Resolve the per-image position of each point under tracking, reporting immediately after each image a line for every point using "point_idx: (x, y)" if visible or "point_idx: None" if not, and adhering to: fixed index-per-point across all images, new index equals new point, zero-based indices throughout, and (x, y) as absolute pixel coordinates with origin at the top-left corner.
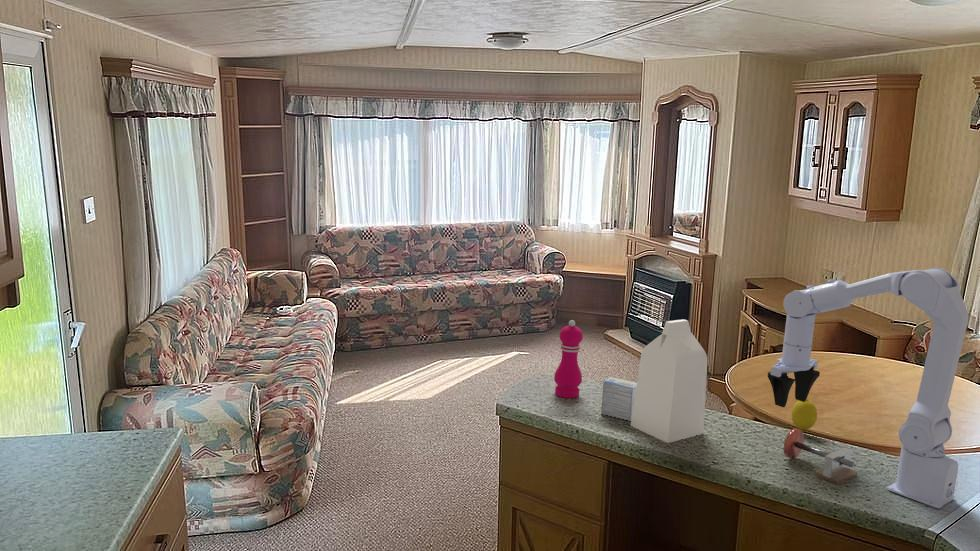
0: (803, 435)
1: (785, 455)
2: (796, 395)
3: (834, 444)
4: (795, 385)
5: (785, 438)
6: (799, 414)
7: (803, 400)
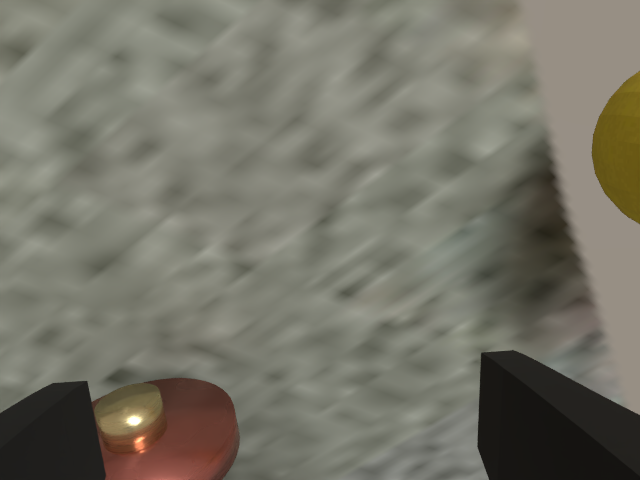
0: (217, 478)
1: (97, 400)
2: (503, 385)
3: (581, 352)
4: (583, 438)
5: (98, 418)
6: (631, 171)
7: (484, 455)
